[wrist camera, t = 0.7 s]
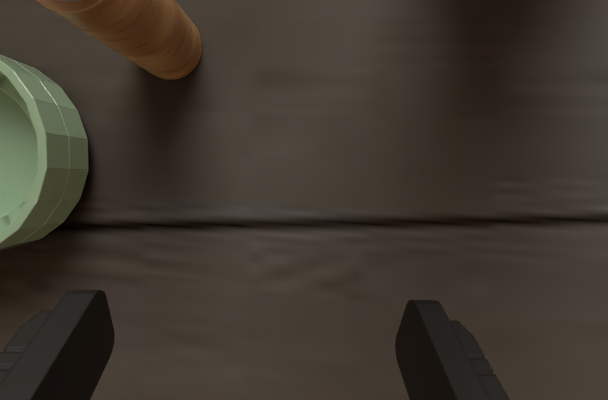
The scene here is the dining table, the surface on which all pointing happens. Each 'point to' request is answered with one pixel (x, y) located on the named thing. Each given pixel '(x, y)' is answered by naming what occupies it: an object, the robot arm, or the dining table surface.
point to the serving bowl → (37, 154)
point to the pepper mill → (138, 31)
